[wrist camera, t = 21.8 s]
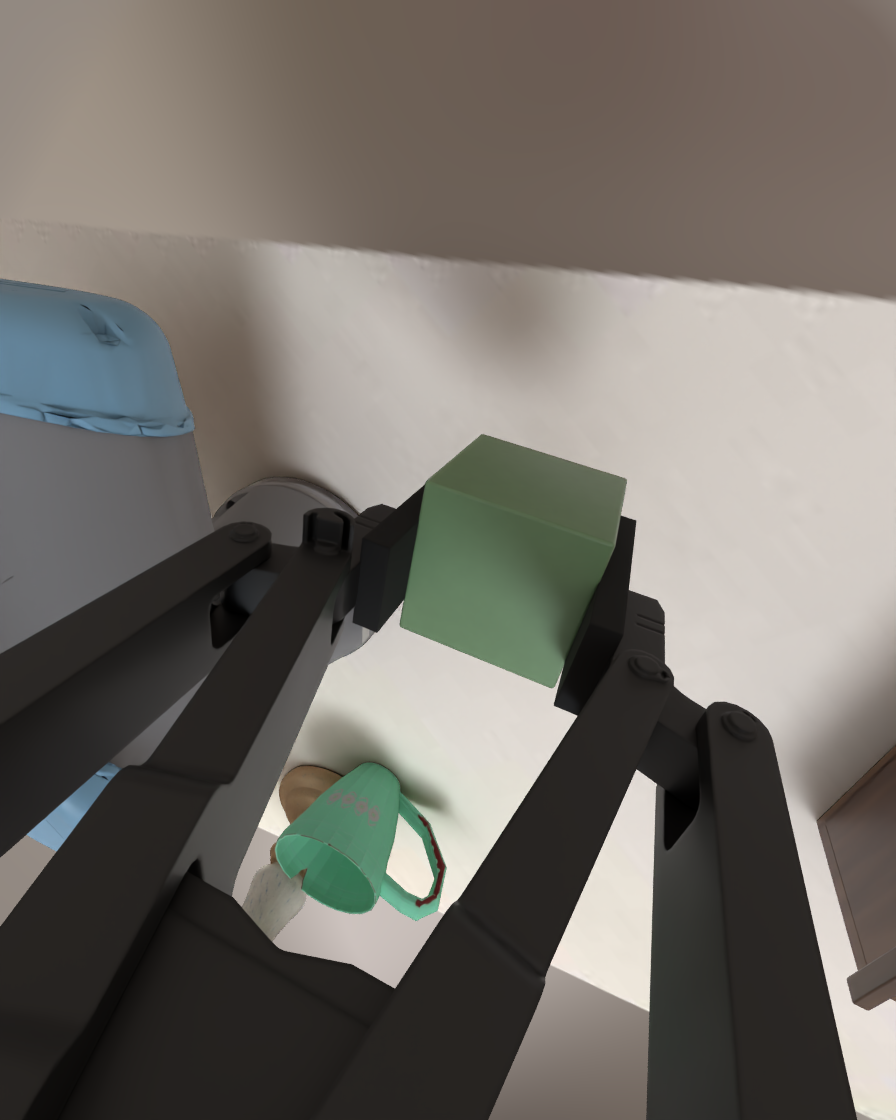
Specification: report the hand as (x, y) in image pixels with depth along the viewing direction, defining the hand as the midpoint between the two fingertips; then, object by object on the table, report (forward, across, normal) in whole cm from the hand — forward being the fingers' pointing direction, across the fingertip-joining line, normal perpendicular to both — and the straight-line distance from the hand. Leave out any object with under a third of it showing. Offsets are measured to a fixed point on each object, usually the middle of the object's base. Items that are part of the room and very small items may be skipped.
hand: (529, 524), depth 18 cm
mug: (+14, -5, -39) cm, 41 cm away
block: (0, 0, 0) cm, 0 cm away
